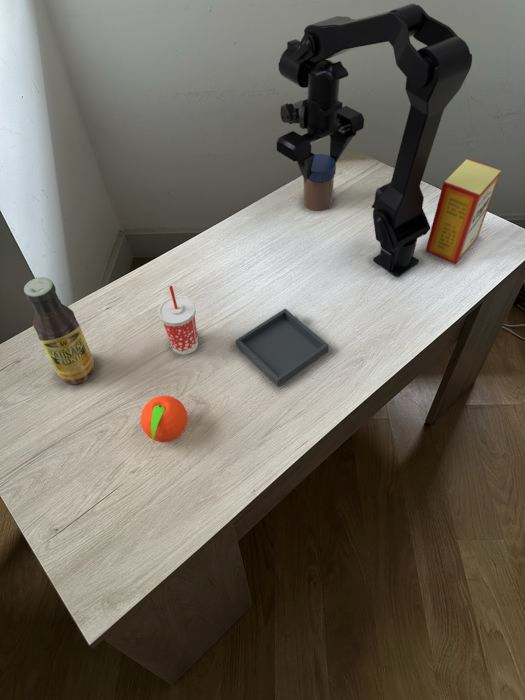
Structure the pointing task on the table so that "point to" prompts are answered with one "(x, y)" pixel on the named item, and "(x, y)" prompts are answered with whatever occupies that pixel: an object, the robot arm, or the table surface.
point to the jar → (318, 194)
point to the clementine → (164, 418)
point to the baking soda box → (462, 210)
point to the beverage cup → (179, 322)
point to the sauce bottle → (59, 332)
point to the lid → (322, 168)
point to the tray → (281, 347)
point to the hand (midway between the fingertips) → (319, 171)
